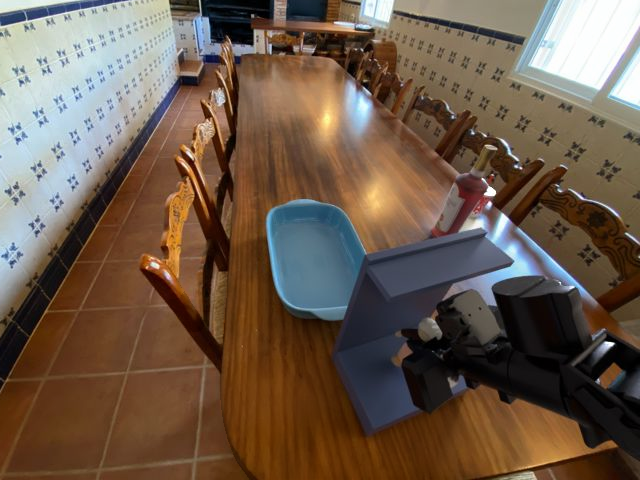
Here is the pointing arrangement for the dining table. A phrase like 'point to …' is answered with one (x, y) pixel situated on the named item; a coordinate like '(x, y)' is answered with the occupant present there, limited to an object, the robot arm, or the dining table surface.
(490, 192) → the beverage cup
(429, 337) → the grandmother figurine
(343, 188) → the dining table surface
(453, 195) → the liquor
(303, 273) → the casserole dish
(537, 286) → the robot arm
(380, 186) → the dining table surface
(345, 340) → the stand
